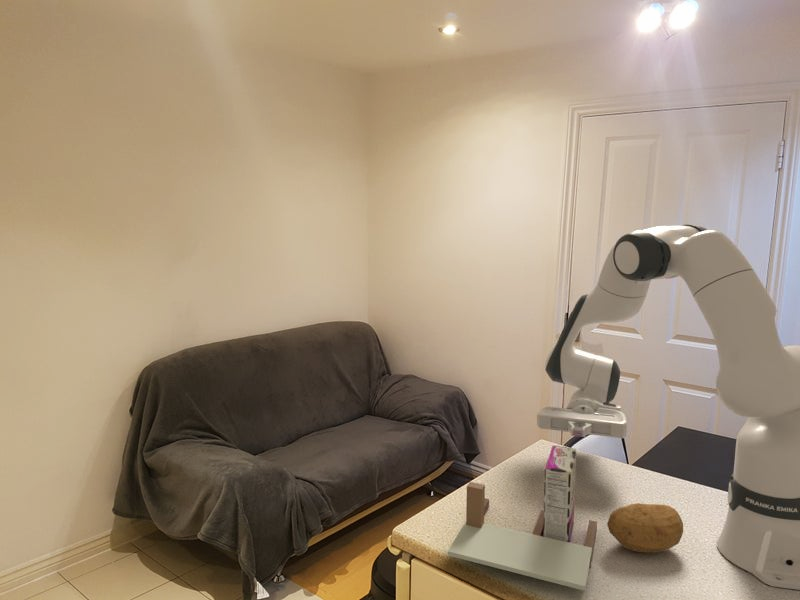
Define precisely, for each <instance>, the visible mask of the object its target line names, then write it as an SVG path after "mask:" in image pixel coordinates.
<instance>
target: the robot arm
mask: <svg viewBox="0 0 800 600" xmlns="http://www.w3.org/2000/svg"><path fill="white" fill-rule="evenodd" d="M679 277H680V278H682V279H683V281H684V282H685V284H686V285H687V287H688V289H689V291H690V293H691V295H692V297H693V298H694V301H695V302H696V304H697V307H698V308H699V310H700V312H701V313H702V316H703V317H704V320H705V321H706V323H707V325H708V326H709V329H710V332H711V333H712V337H713V339H714V342H715V343H714V344H715V345H716V346H715V347H716V351H717V355H718V360H719V362H718V363H719V370H718V374H717V376H716V379H715V387H716V389H715V390H716V393H717V395H718V397H719V400H720V401H721V402H722V405H724V406H725V407H726V408H727V409H728V410H730V411H731V412H732V413H734V414H736V415H738V416H741V417H745V418H747V420H746V421H745V423H744V425H743V426H742V427H741V429H740V430H739V431H738V433H737V436H736V443H735V453H734V465H733V473H732V474H730V478H729V482H728V491H727V504H728V510H727V514H726V517H725V521H724V525H723V527H722V530H721V532H720V535H719V537H718V538H717V541H716V546H717V548H718V551H719V552H720V553H721V554H722V555H723V557H725V558H726V559H727V560H728V561H730V562H731V563H732V564H734V565H735V566H737V567H739V568H741V569H742V570H745V571H746V572H749V573H750V574H752V575H754V576H755V577H756V578H757V579H758V580H760V581H761V582H762V583H764V584H766V585H768V586H771V587H776V588H784V589H791V590H799V591H800V344H799V345H798V344H797V345H796V344H794V345H787V346H783V345H782V342H781V340H780V336H779V334H778V330H777V325H776V316H777V312H778V311H777V306H776V303H774V300H773V299H772V297H771V295H770V294H769V293H768V291H767V290H766V287H765V286H764V284H763V283H762V281H761V279H760V278H759V276H758V275H757V273H756V272H755V270H754V267H752V265H751V264H750V262H749V261H748V259H747V258H746V257H745V255H744V254H743V253H742V252H741V250H740V249H739V248H738V247H737V245H736V244H735V243H734V242H733V241H732V240H731V238H729V237H728V236H727V235H726V234H725V233H724V232H722V231H719V230H715V229H714V230H713V229H707V228H706V227H703V226H700V225H696V224H695V225H694V224H683V225H682V224H681V225H668V226H667V225H660V226H654V227H650V228H649V227H648V228H644V229H643V230H642V229H636V230H633V231H631V232H628V233H626V234H624V235H622V236H621V237H620V238H619V239H617V241H616V243H614V245H613V246H612V247H611V248H610V250H609V253H608V254H607V256H606V259H605V260H604V263H603V265H602V268H601V271H600V273H599V277H598V281H597V283H596V286H595V288H594V289H593V290H592V291H590V292H589V293H588V294H582V295H581V297H580V298H578V300H577V301H576V303H575V305H574V307H573V309H572V311H571V313H570V314H569V316H568V319H566V320H567V321H566V322H565V324H564V326H563V328H562V331H561V333H560V334H559V337H558V340H557V342H556V344H555V345H554V347H553V348H552V349H551V350H550V352H549V353H548V355H547V358H546V361H545V365H544V366H545V372H546V374H547V376H548V377H549V378H550V380H551V381H552V382H554V383H559V384H564V385H569V386H571V387H575V388H577V389H575V391H574V393H573V394H572V395H571V398H570V400H569V402H568V404H567V406H566V408H565V407H558V406H557V407H556V406H555V407H554V406H545V407H543V408H542V409H540V411H538V412H537V415H536V426H537V427H538V428H539V429H541V430H542V429H543V430H550V431H551V430H552V431H559V432H569V433H570V435H571V436H573V437H582V438H585V437H586V436H588V435H591V436H592V435H593V436H601V437H609V438H617V439H626V438H627V435H628V434H627V433H628V419H627V417H626V414H625V413H624V412H623V408H622V406H621V405H618V404H615V403H611V402H612V401H614V399H615V398H616V395H617V392H618V388H619V384H620V377H621V370H620V367H619V365H618V363H617V362H616V361H615V359H612V358H609V357H606V356H603V355H599V354H595V353H593V352H592V353H591V352H588V351H585V350H583V349H582V350H581V349H579V348H576V347H575V346H574V343H575V342H576V339H577V338H578V336H579V334H580V332H581V330H582V329H583V328H584V327H586V326H588V325H593V324H601V323H603V324H604V323H611V324H612V323H619V322H624V321H627V320H629V319H631V318H634V316H636V315H637V314H638V313H639V312H640V311H641V308H642V307H643V305H644V303H645V300H646V297H647V294H648V291H649V288H650V284H651V281H652V280H662V279H663V280H664V279H666V280H668V279H673V278H679Z"/></svg>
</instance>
